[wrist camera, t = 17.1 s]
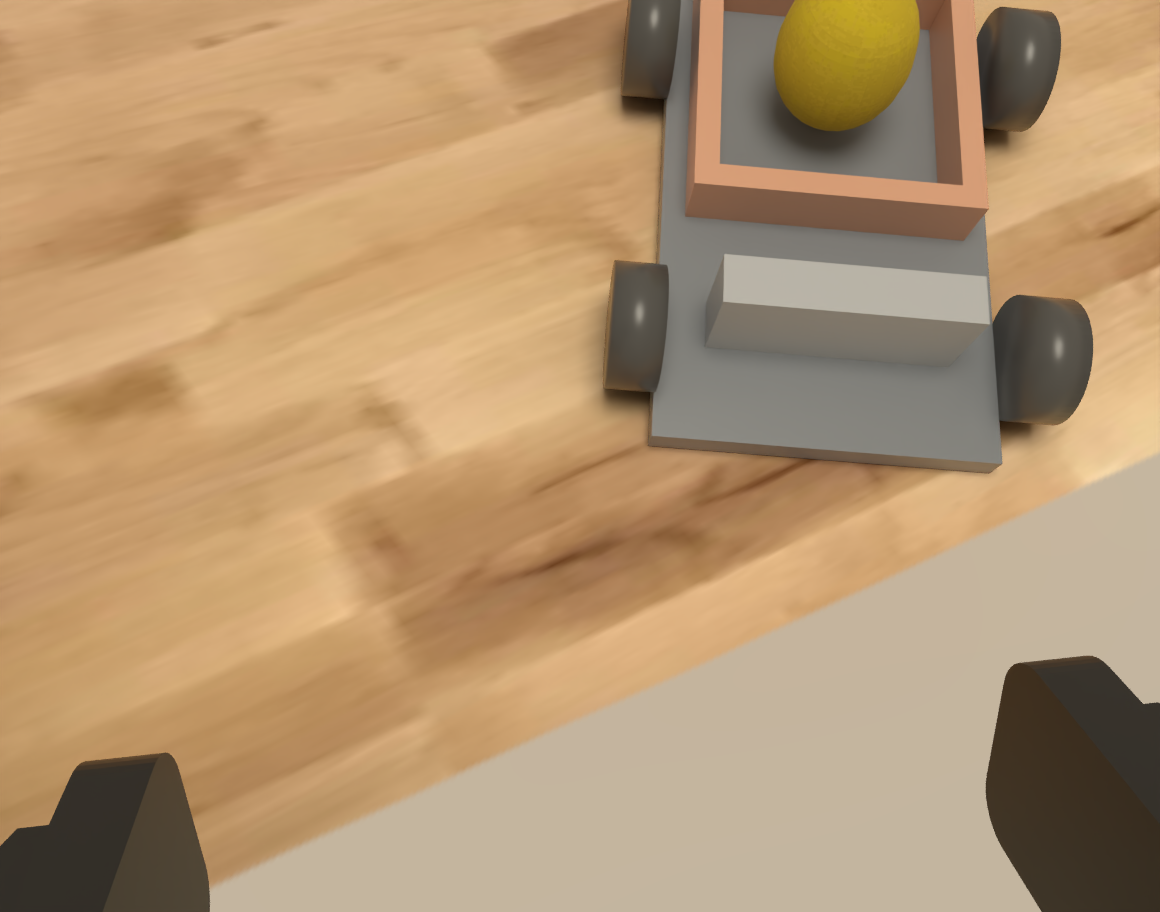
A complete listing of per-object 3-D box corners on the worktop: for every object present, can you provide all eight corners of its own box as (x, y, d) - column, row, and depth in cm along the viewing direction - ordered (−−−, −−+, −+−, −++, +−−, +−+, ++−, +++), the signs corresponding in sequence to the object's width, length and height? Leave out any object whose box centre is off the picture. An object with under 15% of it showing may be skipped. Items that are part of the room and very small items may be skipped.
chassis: (598, 441, 42) (609, 392, 37) (626, 3, 49) (638, -87, 44) (1037, 477, 42) (1105, 433, 37) (1001, 38, 49) (1054, -47, 44)
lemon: (900, 103, 46) (973, -39, 39) (843, 189, 44) (908, 58, 37) (793, 45, 47) (844, -105, 40) (733, 128, 45) (774, -12, 38)
